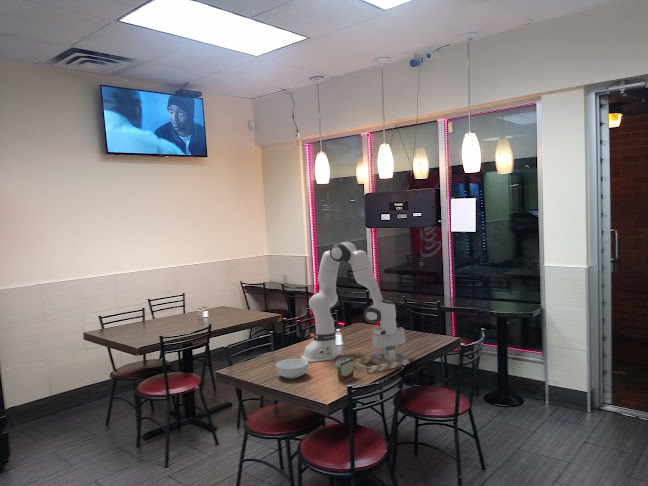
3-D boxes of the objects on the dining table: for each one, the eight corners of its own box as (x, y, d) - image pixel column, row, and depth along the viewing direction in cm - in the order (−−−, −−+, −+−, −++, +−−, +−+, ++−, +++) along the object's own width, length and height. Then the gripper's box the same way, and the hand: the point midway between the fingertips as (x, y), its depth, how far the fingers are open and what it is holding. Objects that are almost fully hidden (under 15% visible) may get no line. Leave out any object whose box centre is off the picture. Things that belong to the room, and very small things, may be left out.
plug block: (389, 361, 267) (389, 348, 266) (384, 358, 271) (383, 346, 271) (395, 359, 268) (395, 347, 268) (390, 357, 273) (389, 345, 273)
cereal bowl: (270, 377, 255) (269, 364, 255) (294, 369, 267) (293, 356, 267) (291, 384, 243) (290, 370, 243) (315, 375, 255) (314, 362, 254)
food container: (345, 374, 254) (344, 355, 253) (355, 376, 250) (354, 357, 250) (331, 381, 244) (330, 361, 244) (340, 383, 241) (339, 363, 240)
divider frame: (367, 373, 253) (367, 367, 253) (351, 365, 269) (351, 359, 268) (409, 364, 265) (409, 358, 265) (391, 357, 281) (391, 351, 281)
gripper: (400, 325, 277) (401, 349, 277) (370, 331, 267) (371, 355, 268) (407, 327, 271) (408, 351, 272) (376, 333, 262) (377, 358, 262)
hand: (389, 353), depth 270 cm, fingers closed on plug block, 4 cm apart
